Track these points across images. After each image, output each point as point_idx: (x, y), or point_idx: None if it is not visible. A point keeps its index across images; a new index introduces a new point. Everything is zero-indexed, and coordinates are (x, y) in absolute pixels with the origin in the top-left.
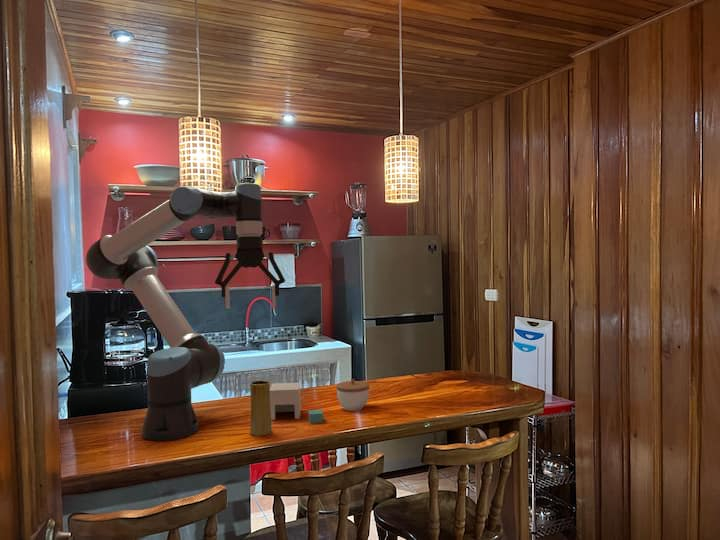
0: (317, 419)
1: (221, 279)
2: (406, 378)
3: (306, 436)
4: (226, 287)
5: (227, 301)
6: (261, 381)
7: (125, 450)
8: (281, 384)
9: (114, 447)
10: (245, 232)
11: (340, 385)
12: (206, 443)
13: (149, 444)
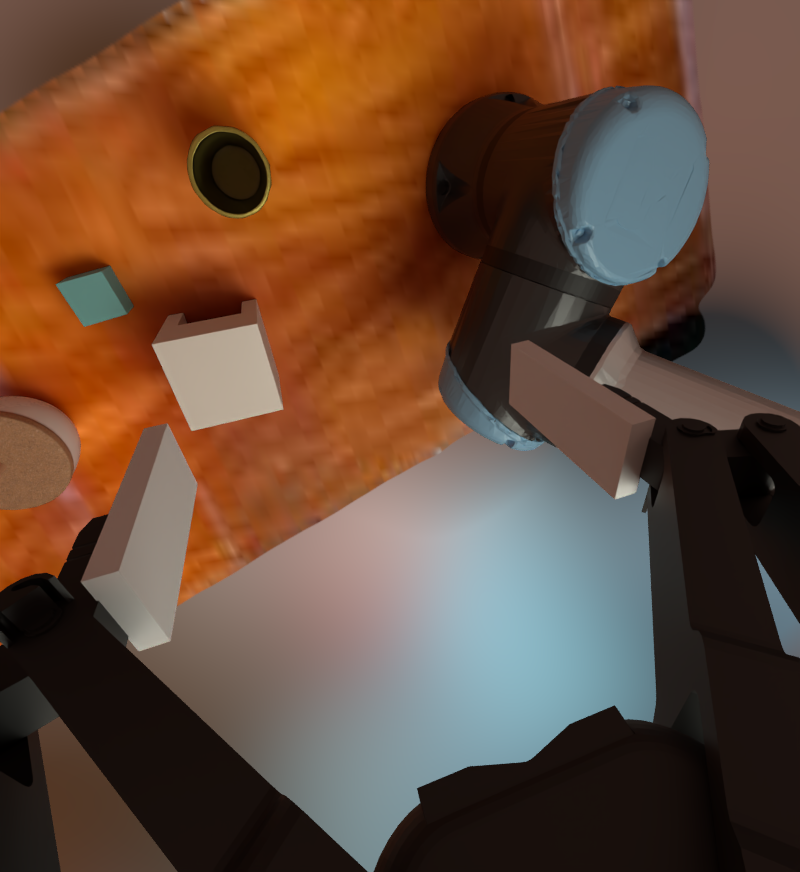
0: (81, 275)
1: (743, 508)
2: None
3: (54, 122)
4: (637, 418)
5: (546, 364)
6: (239, 215)
7: (567, 13)
8: (246, 402)
9: (597, 48)
10: None
11: (42, 447)
12: (367, 64)
13: (519, 69)
